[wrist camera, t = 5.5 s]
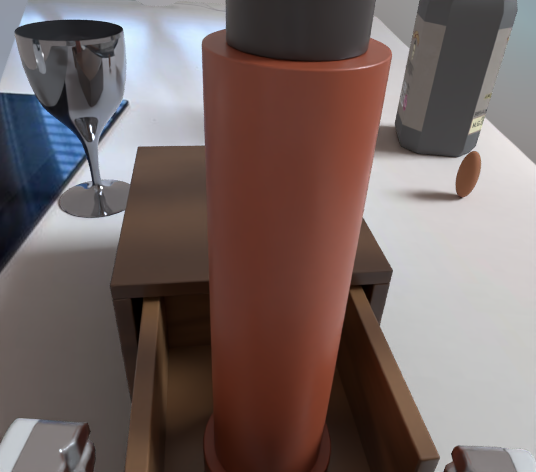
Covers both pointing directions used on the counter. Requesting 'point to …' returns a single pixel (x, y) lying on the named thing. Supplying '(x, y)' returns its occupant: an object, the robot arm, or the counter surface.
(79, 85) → the wine glass
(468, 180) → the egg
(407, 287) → the counter surface
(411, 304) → the counter surface
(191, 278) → the cabinet
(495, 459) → the robot arm
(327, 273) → the pepper mill
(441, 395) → the counter surface
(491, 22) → the liquor
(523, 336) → the counter surface
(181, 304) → the drawer
